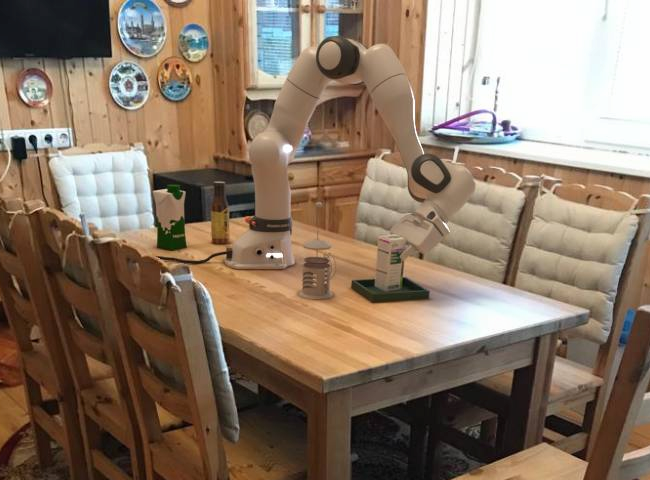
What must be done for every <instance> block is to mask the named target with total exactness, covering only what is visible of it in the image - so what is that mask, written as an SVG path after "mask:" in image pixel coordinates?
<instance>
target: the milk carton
mask: <svg viewBox="0 0 650 480" xmlns="http://www.w3.org/2000/svg"><path fill="white" fill-rule="evenodd" d="M180 187H181V185H180V184H175V183H170V184H167V185H166V188H164V189H157V190H152V194H153V199H154V203H155V215H156V230H157V231H156V233H157V234H156V248H159V249H164V250H168V251H175V250H180V249H186V248H187V247H188V246H187V237H186V225H185V224H186V223H185V222H186V221H185V199H186V194H187V192H186V191H184V190H181V188H180Z"/></svg>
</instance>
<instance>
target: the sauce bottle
mask: <svg viewBox="0 0 650 480" xmlns="http://www.w3.org/2000/svg"><path fill="white" fill-rule="evenodd" d="M212 183H213V184H212V185H213V198H212V199H211V202H210V229H211V233H210V234H211V242H212V243H213V244H217V245H225V244H228V243H230V237H231V236H230V235H231V234H230V205H229V202H228V200H227V196H226V181H220V180H219V181H218V180H217V181H213V182H212Z"/></svg>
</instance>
